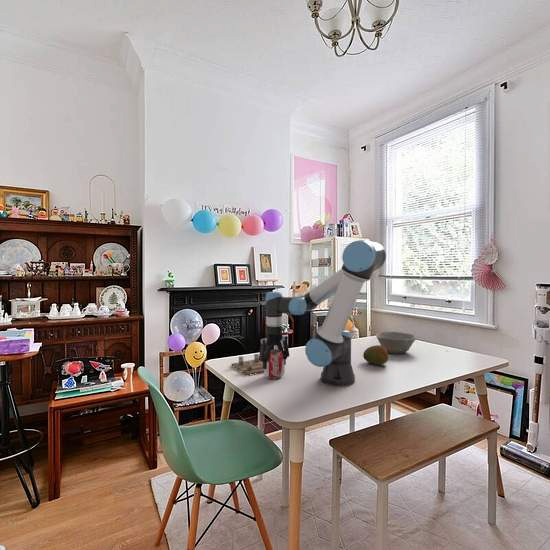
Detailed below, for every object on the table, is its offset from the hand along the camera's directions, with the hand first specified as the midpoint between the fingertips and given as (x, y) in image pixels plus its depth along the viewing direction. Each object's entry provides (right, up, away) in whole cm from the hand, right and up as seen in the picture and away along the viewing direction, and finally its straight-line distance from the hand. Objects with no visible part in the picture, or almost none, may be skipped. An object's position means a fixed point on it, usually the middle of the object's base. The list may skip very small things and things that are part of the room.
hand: (274, 373), depth 153 cm
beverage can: (0, -1, 0) cm, 2 cm away
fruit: (+53, -1, +19) cm, 56 cm away
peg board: (-11, -1, +13) cm, 17 cm away
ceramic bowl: (+72, 0, +43) cm, 84 cm away
